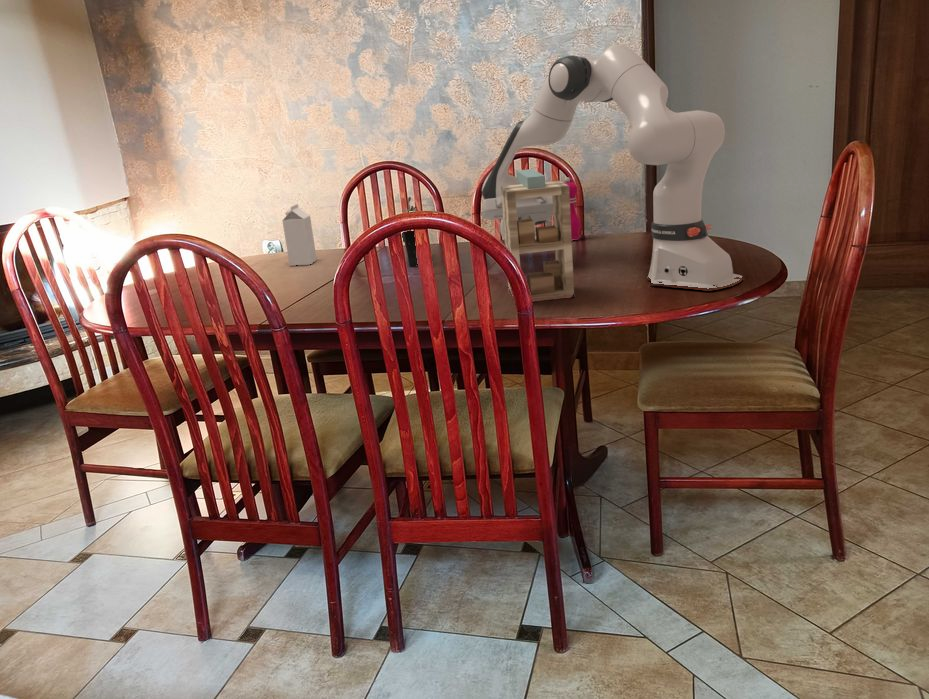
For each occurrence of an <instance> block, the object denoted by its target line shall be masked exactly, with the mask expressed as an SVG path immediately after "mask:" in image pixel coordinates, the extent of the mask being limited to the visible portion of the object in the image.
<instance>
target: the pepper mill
mask: <svg viewBox="0 0 929 699" xmlns="http://www.w3.org/2000/svg"><path fill="white" fill-rule="evenodd" d="M564 183H565V184H567V185H569V196H570V217H571V238H572V239H577V238H580V239H581V236H580V235H581V234H580V233H579V232H580V230H581V228H582V226H581V224H582V223H581V221H580V218H579V216H578V214H577V212H576V202H577V197H576V195H577V193H578V187H577V185H576V184H575V183H574V182H572V181H571V178H570V177H569V176H568V177H567V176H566V177H565V178H564Z"/></svg>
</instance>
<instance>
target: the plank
mask: <svg viewBox="0 0 929 699" xmlns="http://www.w3.org/2000/svg"><path fill="white" fill-rule="evenodd" d="M516 177H517V181H518V182H519V183H521V184H522V185H523V186H525V187H526V188H528V189H531V188H541V187H545V182H546V175H544V174H542V173H540V172H539V171H537V170H535V169H533V168H530V169H519V170H516Z"/></svg>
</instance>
